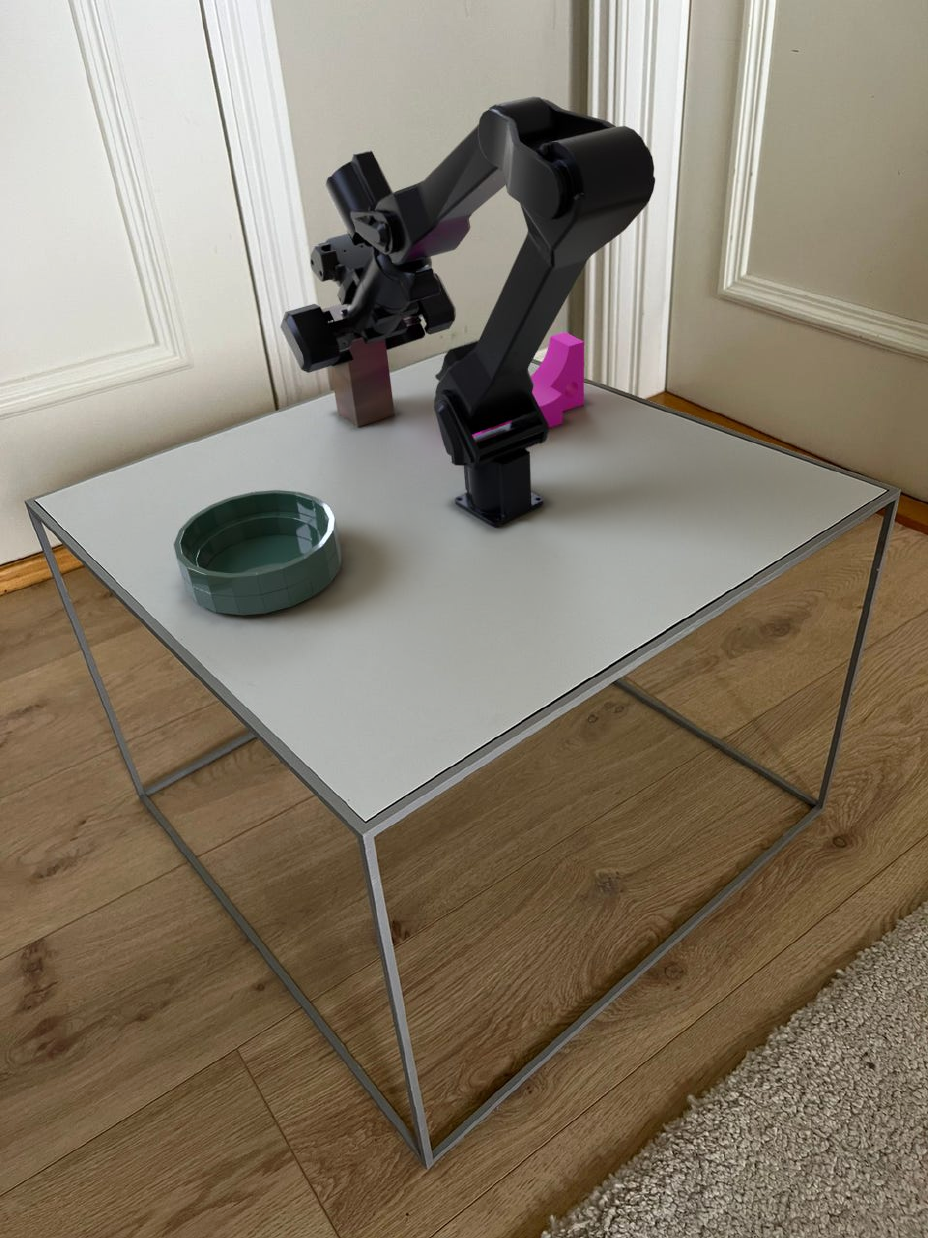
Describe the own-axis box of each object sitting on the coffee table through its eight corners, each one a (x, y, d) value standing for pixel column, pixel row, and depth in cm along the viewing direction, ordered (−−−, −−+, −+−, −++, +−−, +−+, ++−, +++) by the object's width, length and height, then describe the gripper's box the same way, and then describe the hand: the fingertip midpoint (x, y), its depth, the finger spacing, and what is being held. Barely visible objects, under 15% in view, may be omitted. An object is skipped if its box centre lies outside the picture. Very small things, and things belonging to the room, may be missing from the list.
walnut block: (395, 414, 111) (381, 309, 103) (357, 427, 109) (341, 321, 101) (374, 400, 114) (359, 298, 107) (337, 413, 112) (320, 309, 105)
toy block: (483, 449, 103) (479, 384, 98) (455, 428, 107) (450, 365, 102) (596, 411, 108) (597, 348, 103) (565, 393, 112) (565, 331, 108)
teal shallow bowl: (371, 573, 85) (365, 531, 83) (230, 641, 79) (218, 598, 76) (293, 514, 95) (285, 474, 92) (161, 570, 88) (148, 529, 85)
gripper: (432, 193, 98) (391, 275, 113) (269, 233, 91) (247, 316, 105) (479, 287, 98) (432, 358, 112) (319, 335, 90) (291, 404, 105)
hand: (352, 356), depth 109 cm, fingers closed on walnut block, 5 cm apart
